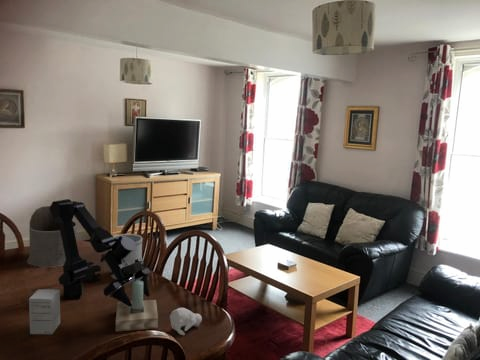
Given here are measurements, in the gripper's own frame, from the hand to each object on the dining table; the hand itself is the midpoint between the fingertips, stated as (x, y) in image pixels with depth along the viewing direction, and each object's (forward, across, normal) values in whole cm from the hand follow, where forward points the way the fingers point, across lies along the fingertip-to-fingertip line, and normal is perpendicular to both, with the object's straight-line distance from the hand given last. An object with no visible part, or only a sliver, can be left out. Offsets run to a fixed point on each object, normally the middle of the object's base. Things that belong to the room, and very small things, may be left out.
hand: (140, 301), depth 137 cm
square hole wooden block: (+4, 0, +6) cm, 8 cm away
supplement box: (-10, -21, +22) cm, 32 cm away
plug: (+4, 0, +6) cm, 8 cm away
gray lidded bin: (-46, +21, +57) cm, 76 cm away
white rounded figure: (+18, +5, -6) cm, 20 cm away
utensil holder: (-18, +28, +30) cm, 45 cm away
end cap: (-25, +15, +37) cm, 47 cm away
